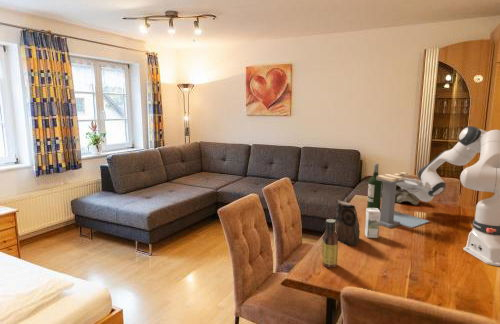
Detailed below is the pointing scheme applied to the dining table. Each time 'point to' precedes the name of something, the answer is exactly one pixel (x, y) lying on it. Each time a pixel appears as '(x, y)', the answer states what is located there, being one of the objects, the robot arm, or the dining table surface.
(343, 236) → the black speaker
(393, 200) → the pedestal
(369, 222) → the syrup box
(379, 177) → the board
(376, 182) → the wine bottle
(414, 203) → the hollow geode rock
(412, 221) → the mat
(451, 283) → the dining table surface
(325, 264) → the sauce bottle
